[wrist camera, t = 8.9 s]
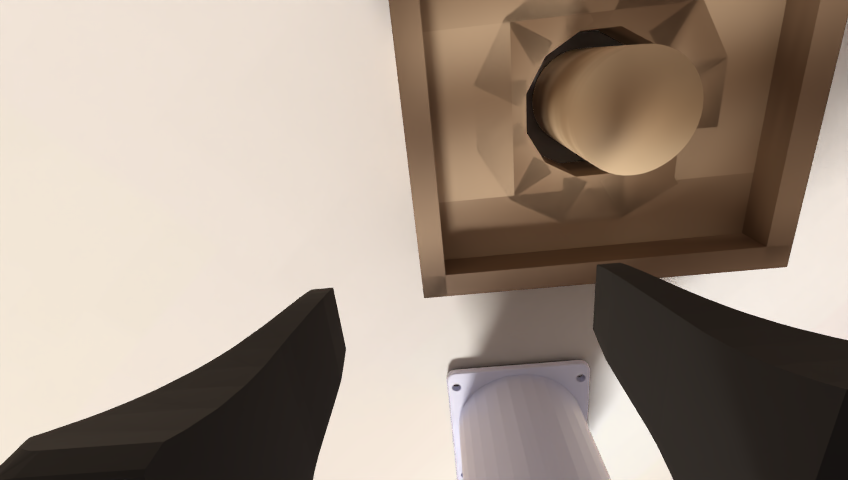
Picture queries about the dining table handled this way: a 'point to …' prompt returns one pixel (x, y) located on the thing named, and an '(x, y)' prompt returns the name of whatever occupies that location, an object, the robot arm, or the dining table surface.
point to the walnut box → (582, 181)
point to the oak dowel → (620, 105)
